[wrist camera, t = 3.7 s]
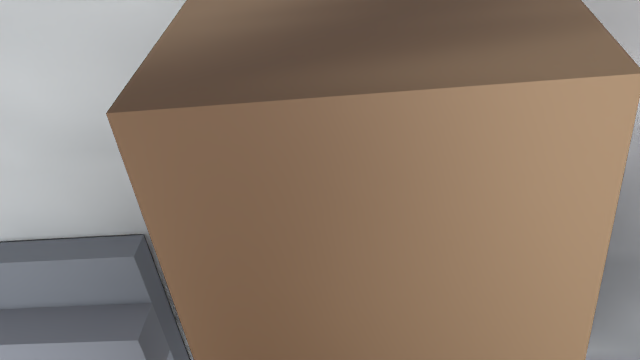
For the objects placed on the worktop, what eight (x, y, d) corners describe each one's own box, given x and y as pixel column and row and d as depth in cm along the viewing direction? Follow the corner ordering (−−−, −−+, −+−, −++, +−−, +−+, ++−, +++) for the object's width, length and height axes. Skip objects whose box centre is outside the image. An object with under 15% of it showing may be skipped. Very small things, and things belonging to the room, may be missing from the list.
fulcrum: (143, 235, 15) (117, 292, 14) (190, 362, 18) (173, 423, 16) (-112, 248, 16) (-166, 305, 14) (-28, 369, 19) (-65, 427, 17)
